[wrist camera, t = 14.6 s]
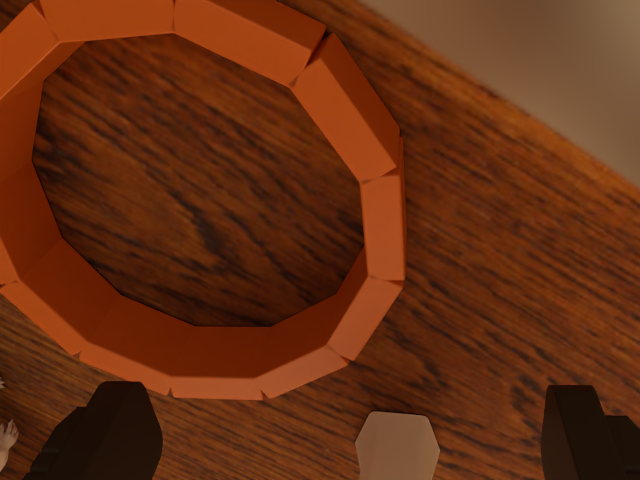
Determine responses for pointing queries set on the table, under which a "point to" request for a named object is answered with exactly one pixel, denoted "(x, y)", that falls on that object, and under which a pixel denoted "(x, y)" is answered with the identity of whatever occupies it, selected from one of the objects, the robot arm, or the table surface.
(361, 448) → the perfume bottle
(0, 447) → the figurine
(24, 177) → the hoop
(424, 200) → the table surface
